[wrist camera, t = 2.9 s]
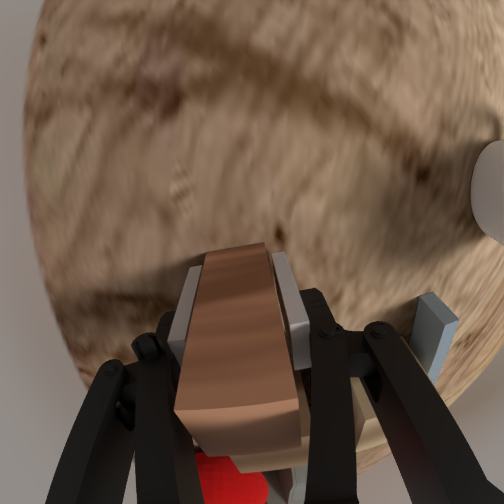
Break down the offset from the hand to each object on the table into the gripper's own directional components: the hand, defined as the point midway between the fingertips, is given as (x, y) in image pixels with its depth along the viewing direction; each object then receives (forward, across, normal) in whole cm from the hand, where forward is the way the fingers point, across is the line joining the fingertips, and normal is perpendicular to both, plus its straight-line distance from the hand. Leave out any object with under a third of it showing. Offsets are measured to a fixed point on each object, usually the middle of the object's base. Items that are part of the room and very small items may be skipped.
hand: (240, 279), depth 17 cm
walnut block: (+1, 0, -7) cm, 7 cm away
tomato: (+1, -8, -27) cm, 28 cm away
